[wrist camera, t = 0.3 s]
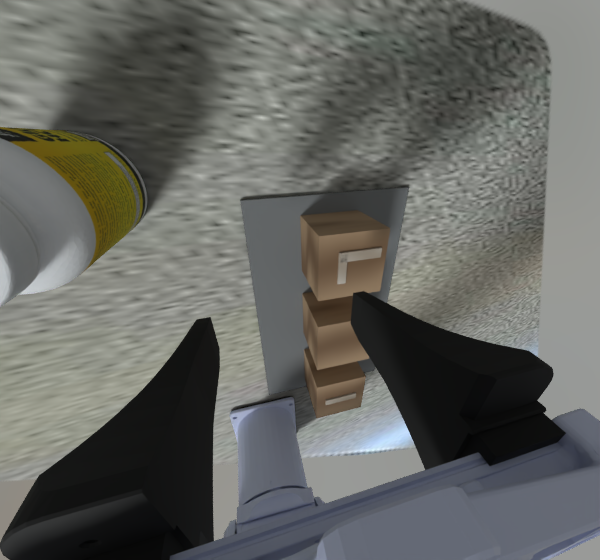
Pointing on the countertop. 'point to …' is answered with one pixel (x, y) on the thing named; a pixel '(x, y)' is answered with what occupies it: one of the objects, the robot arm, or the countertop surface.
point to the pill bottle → (61, 206)
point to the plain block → (330, 331)
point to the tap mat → (288, 269)
